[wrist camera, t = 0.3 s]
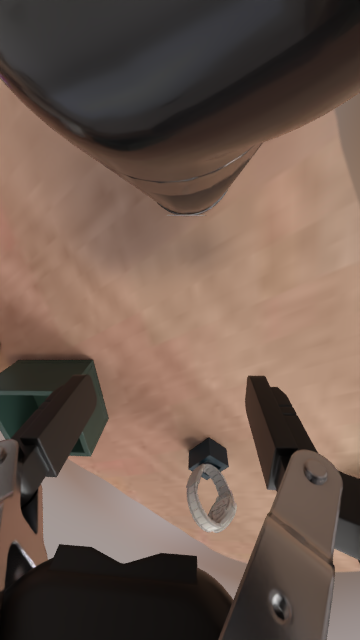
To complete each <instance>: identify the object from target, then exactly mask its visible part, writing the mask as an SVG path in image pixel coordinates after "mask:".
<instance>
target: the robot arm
mask: <svg viewBox="0 0 360 640" xmlns="http://www.w3.org/2000/svg"><path fill="white" fill-rule="evenodd" d="M0 79H1V80H2V81H3V82H4V83H5V85H6V86H7V87H8V88H9V89H10V90H11V91H12V92H13V93H14V94H15V95H16V96H17V97H18V98H19V99H20V100H21V101H22V102H23V103H24V104H25V105H26V106H27V107H28V108H29V109H30V110H31V111H32V112H33V113H34V114H35V115H37V116H38V117H39V118H40V119H41V120H42V121H43V122H45V123H46V124H47V125H48V126H49V127H50V128H52V129H53V130H54V131H56V132H57V133H58V134H60V135H61V136H62V137H64V138H65V139H66V140H68V141H69V142H70V143H72V144H73V145H74V146H76V147H77V148H79V149H80V150H82V151H83V152H85V153H86V154H87V155H89V156H90V157H92V158H93V159H95V160H96V161H98V162H100V163H101V164H103V165H104V166H105V167H107V168H108V169H110V170H111V171H113V172H114V173H116V174H117V175H118V176H120V177H121V178H123V179H124V180H126V181H127V182H129V183H130V184H132V185H133V186H135V187H136V188H137V189H139V190H140V191H142V192H143V193H145V194H146V195H147V196H149V197H150V198H152V199H153V200H154V201H156V202H157V203H158V204H159V205H160V206H161V207H163V208H164V209H166V210H167V211H169V212H171V213H173V214H176V215H168V216H206V215H199V214H202V213H204V212H206V211H208V210H210V209H211V208H212V207H214V206H215V205H216V204H217V203H218V202H219V201H220V200H221V199H222V197H223V196H224V195H225V193H226V192H227V190H228V188H229V187H230V186H231V184H232V183H233V182H234V180H235V179H236V178H237V176H238V175H239V174H240V172H241V171H242V170H243V168H244V167H245V166H246V164H247V163H248V162H249V160H250V159H251V158H252V156H253V155H254V154H255V152H256V151H257V150H258V148H259V147H260V146H261V144H262V143H263V142H265V141H268V140H271V139H273V138H276V137H279V136H281V135H284V134H286V133H288V132H291V131H293V130H295V129H298V128H300V127H302V126H304V125H306V124H308V123H310V122H312V121H314V120H316V119H317V118H319V117H321V116H323V115H325V114H327V113H328V112H330V111H332V110H333V109H335V108H337V107H338V106H340V105H341V104H343V103H344V102H346V101H348V100H349V99H351V98H352V97H354V96H355V95H357V94H358V93H360V0H0ZM96 405H97V395H96V392H95V388H94V385H93V381H92V378H91V376H90V375H73V376H72V377H71V378H70V379H69V380H68V381H67V382H66V384H65V385H62V386H60V387H59V388H57V389H56V390H54V391H53V392H52V393H51V394H50V395H49V396H48V397H47V398H46V400H45V402H43V403H42V404H41V405H40V406H39V407H38V410H36V411H35V412H34V413H33V414H32V415H31V416H30V418H29V419H28V420H27V421H26V422H25V423H24V424H23V425H22V426H21V428H20V429H19V430H18V431H17V432H16V433H15V434H14V435H13V437H12V438H11V439H6V440H3V441H0V640H327V633H328V626H329V618H330V610H331V603H332V595H333V588H334V577H335V567H334V565H333V552H334V549H337V550H339V551H341V552H343V553H345V554H347V555H349V556H352V557H354V558H356V559H358V561H359V563H360V479H358V478H355V477H352V476H349V475H347V474H344V473H342V472H340V471H338V470H337V469H336V468H335V466H334V465H333V464H332V463H331V462H330V461H329V460H328V459H326V458H325V457H324V456H322V455H320V454H318V452H317V451H316V449H315V447H314V445H313V443H312V442H311V440H310V438H309V436H308V434H307V432H306V430H305V429H304V427H303V425H302V423H301V421H300V419H299V418H298V416H297V415H296V412H295V410H294V408H293V407H292V405H291V403H290V401H289V399H288V397H287V395H286V394H284V393H283V392H282V391H281V390H280V389H279V388H278V387H270V386H269V383H268V381H267V379H266V377H265V376H248V378H247V387H246V398H245V406H246V413H247V417H248V420H249V424H250V428H251V431H252V435H253V439H254V442H255V446H256V450H257V454H258V457H259V461H260V465H261V468H262V472H263V476H264V479H265V483H266V487H267V490H276V491H277V495H276V497H275V500H274V502H273V505H272V508H271V510H270V512H269V513H268V514H267V516H266V518H265V521H264V523H263V526H262V528H261V531H260V533H259V536H258V539H257V541H256V544H255V546H254V549H253V551H252V554H251V556H250V559H249V562H248V564H247V567H246V569H245V572H244V575H243V577H242V580H241V582H240V585H239V587H238V590H237V592H236V595H235V598H234V600H233V599H232V597H231V596H230V595H229V594H228V592H227V591H226V590H225V589H224V587H223V586H222V585H221V584H220V583H218V581H217V580H215V579H214V578H213V577H212V576H210V575H209V574H207V573H206V572H205V571H203V570H201V569H199V568H197V556H189V555H178V554H166V553H160V554H157V555H153V556H150V557H146V558H143V559H140V560H136V561H133V562H129V563H125V564H122V563H119V562H117V561H116V560H114V559H112V558H110V557H108V556H107V555H105V554H103V553H101V552H99V551H97V550H96V549H94V548H92V547H84V546H72V545H61V544H59V546H58V549H57V551H56V553H55V555H54V558H52V559H49V560H48V559H47V553H46V549H45V546H44V541H43V507H42V505H43V504H42V486H41V483H42V481H43V479H44V478H45V477H57V476H58V474H59V472H60V470H61V468H62V466H63V465H64V463H65V461H66V460H67V458H68V456H69V454H70V453H71V451H72V449H73V447H74V446H75V444H76V442H77V440H78V439H79V437H80V435H81V433H82V432H83V430H84V428H85V426H86V425H87V423H88V421H89V419H90V418H91V416H92V414H93V412H94V410H95V408H96Z"/></svg>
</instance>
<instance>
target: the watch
mask: <svg viewBox="0 0 360 640" xmlns="http://www.w3.org/2000/svg"><path fill="white" fill-rule="evenodd" d="M228 467H229V465H228V458H227V451H226V448H224V447H223V446H221V445H220V444H218V443H216V442H215V441H213V440H212V439H210V438H208V439H206V440H205V441H203V442H202V443H201V444H199V445H198V446H196V447H195V448H193V449H192V450H191V451H189V468H188V469H189V470H191V471H192V473H191V475H190V477H189V480H188V483H187V486H186V488H187V498H188V499H187V501H188V505H189V506H190V507H189V509H190V512H191V514H192V517H193V519H194V520H195V522H196V523H197V525H198V526H199V527H200V528H201V529H203V530H204V531H206V532H211V531H213V532H215V533H218V532H221V531H223V530H224V529H225V528H226V527H227V526H228V525H229V524H230V523H231V521H232V520H233V518H234V516H235V513H236V509H237V505H236V503H235V501H234V498H233V494H232V491H231V490H230V489H229V487H228V484H227V482H226V480H225V478H224V476H223V475H222V473H221V471H223V470H224V469H226V468H228ZM201 477H202V478H204V479H206V480H208V479H209V478H211V479H212V480H213V482H214V484H215V485H216V489H217V491H219V492H218V495H219V496H218V497H217V498H216V502H215V503H214V505H213V506H212V508H211V510H210V512H209V514H208V515H207V514H206V512H205V511H204V509H202V505H201V503H200V501H199V497H198V494H197V490H198V484H199V483H200V478H201ZM224 485H225V486H224ZM222 486H223V487H222ZM192 501H193V502H192ZM198 501H199V502H198ZM195 509H196V510H195Z"/></svg>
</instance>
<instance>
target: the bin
mask: <svg viewBox="0 0 360 640" xmlns="http://www.w3.org/2000/svg"><path fill="white" fill-rule="evenodd" d="M73 375H90V376H91V378H92V381H93V385H94V388H95V392H96V395H97V405H96V408H95V410H94V412H93V414H92V416H91V418H90V419H89V421H88V423H87V425H86V426H85V428H84V430H83V432H82V433H81V435H80V437H79V439H78V440H77V442H76V444H75V446H74V447H73V449H72V451H71V453H70V454H69V456H91V455H92V453H93V451H94V449H95V446H96V444H97V442H98V440H99V438H100V436H101V434H102V431H103V429H104V427H105V425H106V423H107V421H108V419H109V418H108V414H107V410H106V407H105V403H104V399H103V395H102V392H101V388H100V384H99V381H98V377H97V373H96V369H95V366H94V362H93V360H18V361H16V362H15V363H14V364H12V365H11V366H9V367H8V368H7V369H5V370H4V371H3V372H1V373H0V431H1V432H2V434H3V436H4V438H5V439H11V438H12V437H13V435H14V434H15V433H16V432H17V431H18V430H19V429H20V428H21V426H22V425H23V424H24V423H25V422H26V421H27V420H28V419H29V418H30V416H31V415H32V414H33V413H34V412H35V411H36V410H38V407H39V406H40V405H41V404H42V403H43V402H45V400H46V398H47V397H48V396H49V395H50V394H51V393H52V392H53V391H54V390H56V389H57V388H59V387H60V386H62V385H65V384H66V382H67V381H68V380H69V379H70V378H71V377H72V376H73Z"/></svg>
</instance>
